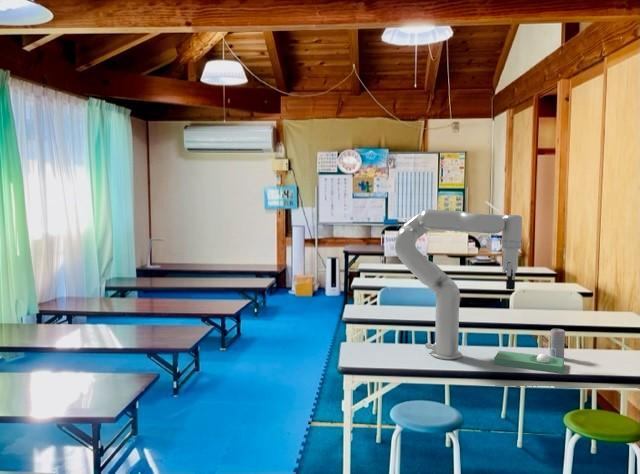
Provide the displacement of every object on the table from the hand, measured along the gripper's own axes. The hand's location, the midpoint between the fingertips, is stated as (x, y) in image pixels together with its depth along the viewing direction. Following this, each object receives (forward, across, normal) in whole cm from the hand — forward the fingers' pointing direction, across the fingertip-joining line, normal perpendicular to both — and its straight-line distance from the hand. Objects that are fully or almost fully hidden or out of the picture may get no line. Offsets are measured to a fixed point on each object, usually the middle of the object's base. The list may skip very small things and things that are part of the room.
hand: (510, 289), depth 226 cm
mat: (+29, +5, +8) cm, 31 cm away
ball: (+26, +6, +14) cm, 30 cm away
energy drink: (+29, -9, +18) cm, 36 cm away
